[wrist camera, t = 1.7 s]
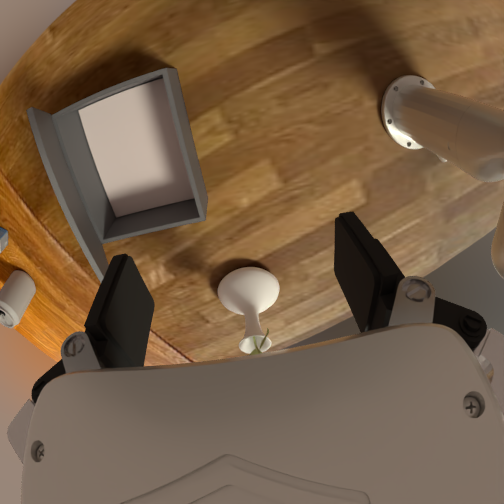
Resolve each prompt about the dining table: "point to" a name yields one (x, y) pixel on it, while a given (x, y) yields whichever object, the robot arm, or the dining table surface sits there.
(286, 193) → the dining table surface
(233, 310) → the flower in vase
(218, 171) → the dining table surface
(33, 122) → the mailer lid
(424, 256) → the dining table surface
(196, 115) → the dining table surface
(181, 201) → the box
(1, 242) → the label tape box
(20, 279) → the can
